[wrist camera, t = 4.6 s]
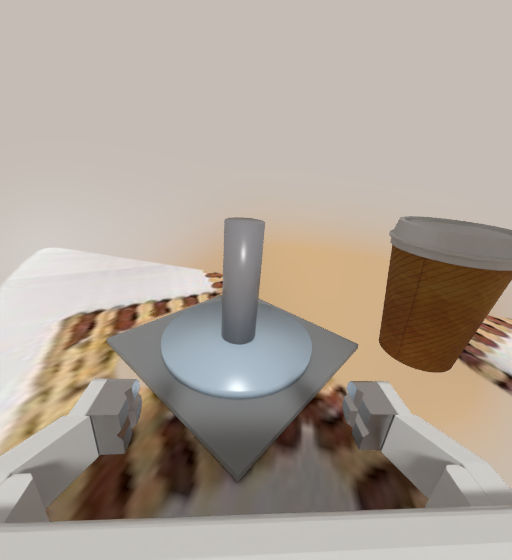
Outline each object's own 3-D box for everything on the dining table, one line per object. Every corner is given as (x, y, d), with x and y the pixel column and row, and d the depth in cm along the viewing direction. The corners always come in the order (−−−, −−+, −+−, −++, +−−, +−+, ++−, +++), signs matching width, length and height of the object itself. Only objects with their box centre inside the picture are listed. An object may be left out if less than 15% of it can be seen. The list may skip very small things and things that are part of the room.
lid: (237, 296, 32) (242, 205, 28) (336, 344, 25) (363, 228, 20) (132, 339, 23) (116, 212, 19) (238, 437, 15) (250, 261, 11)
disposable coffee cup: (422, 322, 31) (460, 218, 26) (504, 384, 22) (583, 244, 17) (345, 324, 29) (371, 213, 24) (400, 390, 20) (457, 238, 16)
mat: (237, 292, 34) (237, 289, 34) (357, 348, 25) (358, 344, 25) (107, 343, 23) (106, 338, 23) (237, 481, 14) (238, 475, 13)
